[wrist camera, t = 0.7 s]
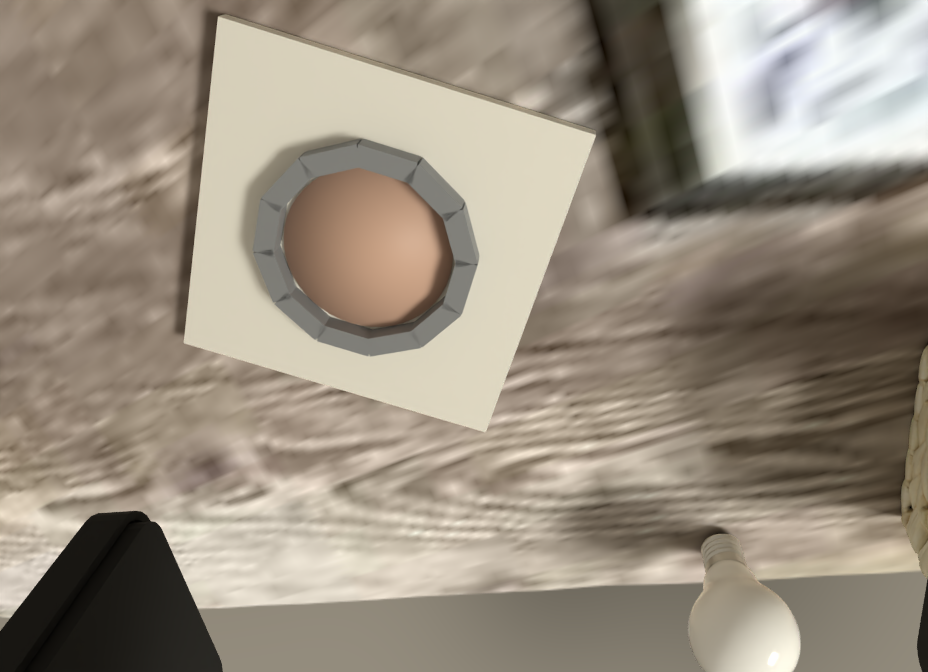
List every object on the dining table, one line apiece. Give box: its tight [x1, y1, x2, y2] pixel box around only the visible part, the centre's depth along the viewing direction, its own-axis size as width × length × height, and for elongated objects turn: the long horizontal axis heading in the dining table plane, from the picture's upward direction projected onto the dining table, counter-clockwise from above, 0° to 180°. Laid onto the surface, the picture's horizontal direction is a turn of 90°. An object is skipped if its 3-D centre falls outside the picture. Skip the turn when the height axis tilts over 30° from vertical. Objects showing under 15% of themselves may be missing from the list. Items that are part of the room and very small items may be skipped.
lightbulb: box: [688, 534, 801, 672], centre depth 48 cm, size 6×6×11 cm
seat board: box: [184, 14, 596, 432], centre depth 43 cm, size 20×20×2 cm
